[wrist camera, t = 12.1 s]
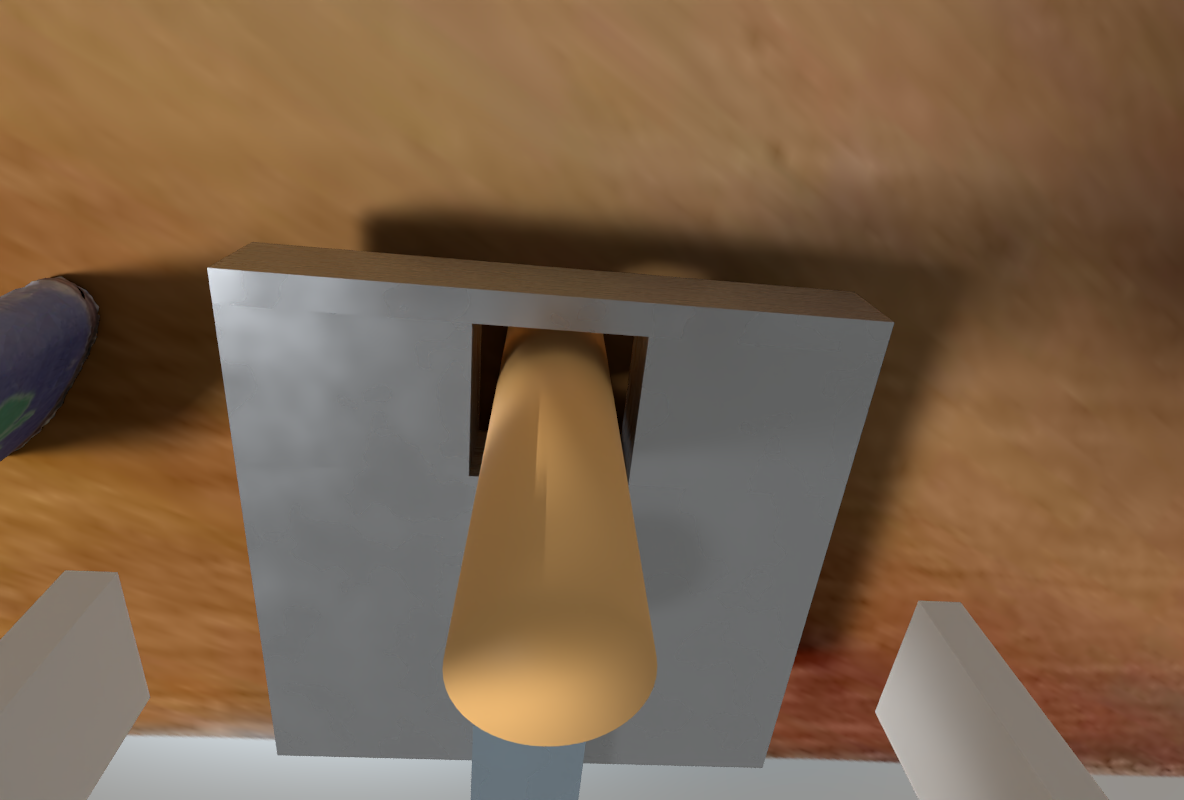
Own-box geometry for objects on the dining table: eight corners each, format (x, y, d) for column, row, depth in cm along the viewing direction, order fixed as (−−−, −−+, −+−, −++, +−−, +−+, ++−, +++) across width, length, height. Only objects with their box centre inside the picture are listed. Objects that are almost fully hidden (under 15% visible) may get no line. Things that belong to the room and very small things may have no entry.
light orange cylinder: (509, 288, 25) (442, 584, 11) (607, 295, 25) (671, 594, 11) (505, 378, 27) (442, 743, 12) (598, 385, 27) (643, 749, 13)
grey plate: (287, 222, 24) (121, 316, 15) (822, 267, 25) (968, 378, 16) (329, 682, 33) (243, 911, 24) (719, 695, 35) (775, 916, 26)
